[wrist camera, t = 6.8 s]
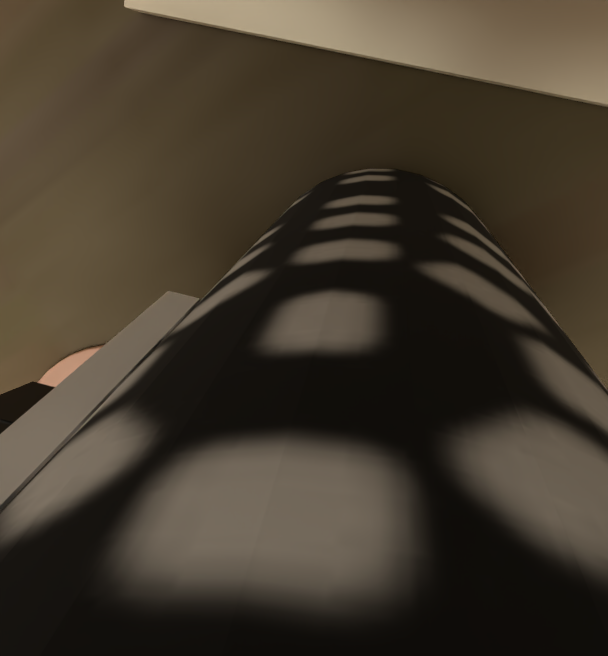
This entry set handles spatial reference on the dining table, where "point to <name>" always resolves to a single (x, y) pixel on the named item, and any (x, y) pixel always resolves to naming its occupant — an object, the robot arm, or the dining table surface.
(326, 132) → the dining table surface
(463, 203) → the spotted tube
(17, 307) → the dining table surface
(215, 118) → the dining table surface
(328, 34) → the birch shelf
